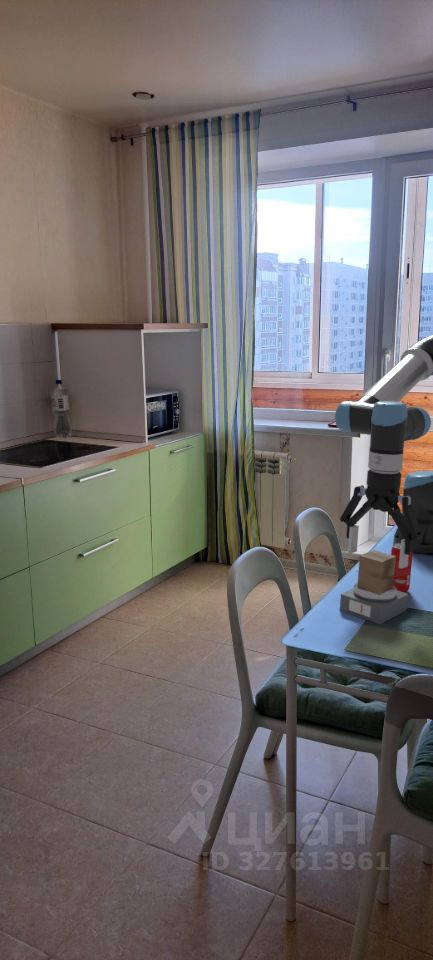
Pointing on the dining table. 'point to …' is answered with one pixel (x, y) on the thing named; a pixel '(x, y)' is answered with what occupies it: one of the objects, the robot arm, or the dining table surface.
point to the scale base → (373, 607)
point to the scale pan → (375, 595)
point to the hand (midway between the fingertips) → (376, 559)
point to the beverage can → (401, 570)
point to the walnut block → (376, 572)
